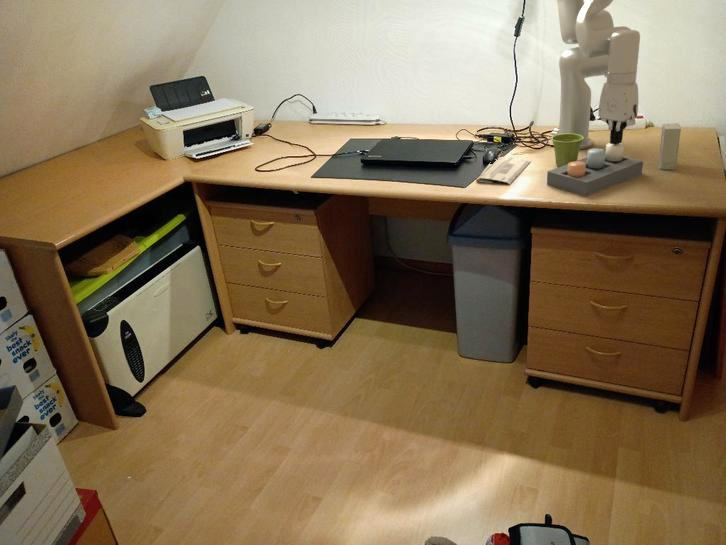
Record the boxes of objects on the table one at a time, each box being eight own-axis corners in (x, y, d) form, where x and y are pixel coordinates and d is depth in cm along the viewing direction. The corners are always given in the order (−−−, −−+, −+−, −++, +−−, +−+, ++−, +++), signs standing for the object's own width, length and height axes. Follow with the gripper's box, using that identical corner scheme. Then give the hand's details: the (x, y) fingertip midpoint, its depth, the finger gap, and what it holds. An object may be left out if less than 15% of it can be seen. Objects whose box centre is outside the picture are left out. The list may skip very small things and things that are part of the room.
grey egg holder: (546, 184, 178) (547, 171, 176) (602, 164, 188) (603, 151, 187) (585, 196, 167) (586, 182, 165) (641, 174, 178) (643, 160, 176)
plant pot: (544, 164, 194) (545, 137, 190) (567, 157, 197) (569, 131, 193) (563, 171, 186) (565, 143, 182) (588, 164, 189) (590, 137, 185)
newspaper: (493, 161, 203) (494, 154, 202) (529, 167, 198) (530, 160, 197) (469, 184, 186) (470, 176, 185) (508, 191, 181) (509, 183, 180)
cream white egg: (601, 159, 180) (602, 144, 178) (612, 155, 182) (613, 141, 180) (615, 162, 176) (616, 148, 174) (626, 158, 179) (627, 144, 177)
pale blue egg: (583, 165, 177) (584, 151, 175) (594, 161, 179) (595, 147, 177) (596, 169, 173) (597, 154, 171) (607, 165, 175) (609, 150, 173)
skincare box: (676, 169, 178) (682, 128, 172) (659, 169, 179) (664, 129, 174) (673, 163, 183) (679, 122, 177) (657, 163, 184) (662, 123, 179)
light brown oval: (563, 178, 174) (564, 164, 172) (575, 174, 176) (575, 160, 174) (576, 182, 170) (577, 168, 168) (588, 178, 173) (589, 163, 171)
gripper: (590, 78, 173) (586, 141, 181) (636, 83, 161) (629, 150, 169) (607, 73, 176) (602, 136, 184) (654, 78, 164) (646, 144, 173)
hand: (615, 143), depth 177 cm, fingers closed
